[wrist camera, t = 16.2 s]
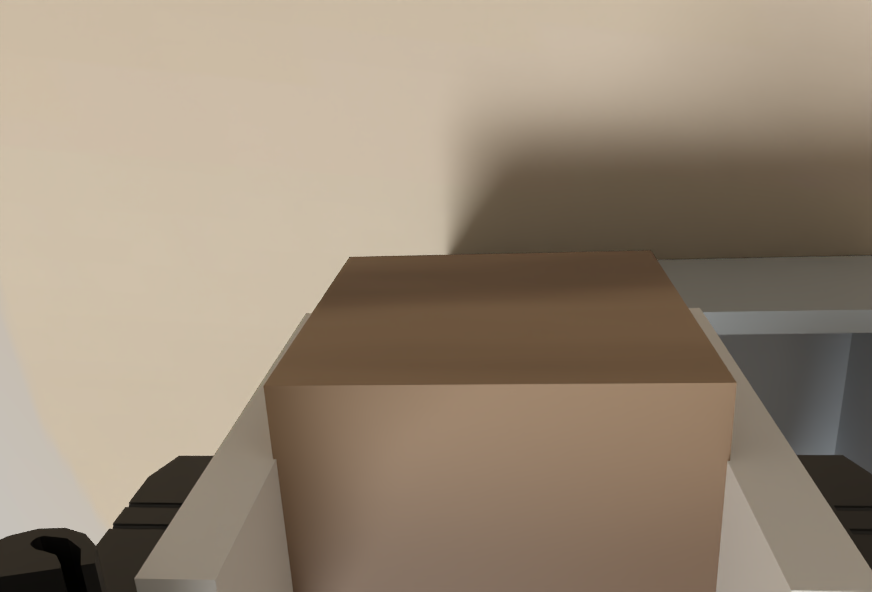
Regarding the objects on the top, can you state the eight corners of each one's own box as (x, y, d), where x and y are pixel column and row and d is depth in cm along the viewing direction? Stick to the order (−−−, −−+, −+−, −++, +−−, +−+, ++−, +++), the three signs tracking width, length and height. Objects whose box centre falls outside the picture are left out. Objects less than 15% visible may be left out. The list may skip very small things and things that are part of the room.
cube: (349, 257, 13) (263, 385, 8) (650, 250, 13) (737, 383, 8) (371, 509, 15) (309, 735, 10) (639, 511, 14) (705, 750, 10)
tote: (444, 264, 31) (433, 316, 26) (878, 255, 30) (958, 308, 24) (467, 737, 40) (462, 846, 35) (802, 748, 39) (848, 865, 33)
